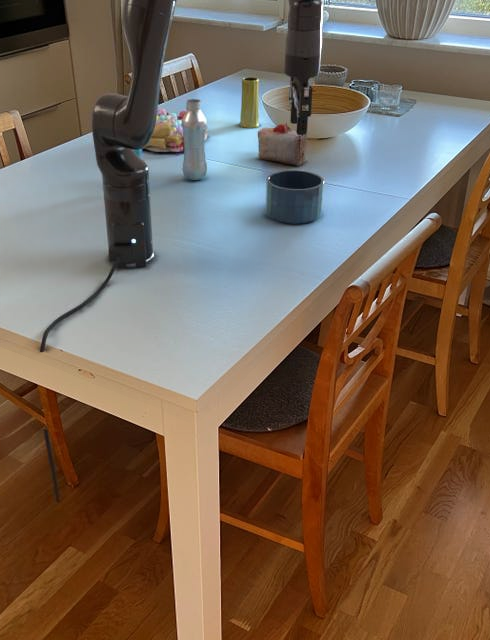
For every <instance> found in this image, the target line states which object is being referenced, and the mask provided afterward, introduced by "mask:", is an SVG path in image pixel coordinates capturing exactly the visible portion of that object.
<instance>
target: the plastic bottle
mask: <svg viewBox="0 0 490 640" xmlns="http://www.w3.org/2000/svg"><path fill="white" fill-rule="evenodd" d="M185 108H186V114H185V115H184V117H183V119H181V121H182V130H183V136H184V149H183V161H182V168H181V169H182V175H183V176H184V178H185V179H186V180H191V181H198V180H202V179H204V178H205V177H206V175H207V172H208V165H207V164H208V163H207V160H206V149H205V146H206V145H205V143H206V140H205V133H206V131H207V130H206V125H208V121H207V117H206V116H205V115H204V113H203V112H202V111H201V110H202V100H200V99H197V98H192V99H191V98H190V99H187V100H186V106H185ZM187 109H188V110H187Z"/></svg>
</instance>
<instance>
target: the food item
mask: <svg viewBox="0 0 490 640" xmlns="http://www.w3.org/2000/svg"><path fill="white" fill-rule="evenodd" d="M257 139H258V146H257V147H258V156H257V157H258V159H259V160H265V161H271V162H274V163H275V162H276V163H281V164H286V165H290V166H295V167H298V166H300V165H302V164H303V163H305V162H306V156H307V153H306V152H307V142H308V141H307V139H308V133H307V134H306V135H298V134H297V133H296V130H291V128H290V126H288V123H287V122H286V123H285V124H282V123H281V124H277V125H275V127H269V126H265V127H262V128H260V129H259V130H257Z"/></svg>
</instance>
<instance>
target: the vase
mask: <svg viewBox="0 0 490 640" xmlns="http://www.w3.org/2000/svg"><path fill="white" fill-rule="evenodd" d="M259 82H260V79H259V78H258V77H256V76H244V77H243V78H241V98H240V99H241V100H240V103H241V104H240V116H239V117H240V118H239V119H240V121H239V126H240V127H241V128H246V129H253V128H258V127H259V126H260V123H259V122H260V121H259V117H260V116H259V113H260V111H259V110H260V109H259V104H260V103H259V99H260V98H259V93H260V92H259V86H260V84H259Z"/></svg>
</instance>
